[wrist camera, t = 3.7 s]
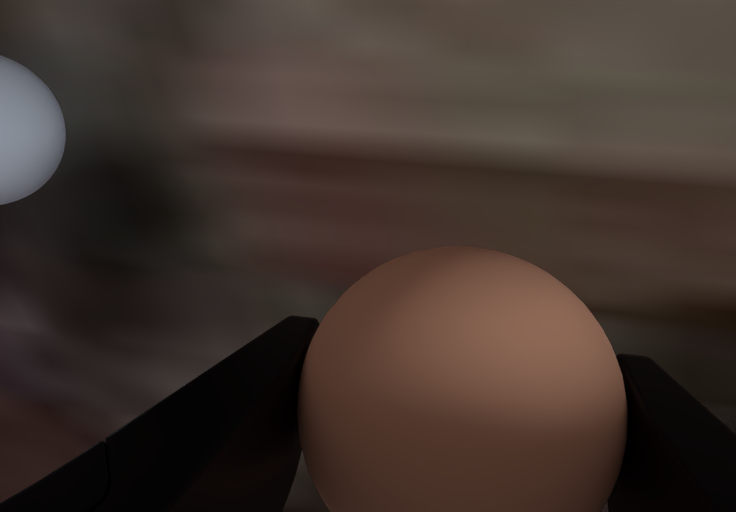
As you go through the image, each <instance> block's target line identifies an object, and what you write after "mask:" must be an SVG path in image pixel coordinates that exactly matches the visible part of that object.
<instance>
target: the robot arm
mask: <svg viewBox="0 0 736 512" xmlns="http://www.w3.org/2000/svg"><path fill="white" fill-rule="evenodd" d="M318 327H319V322H318V320H317V319H315V318H309V317H300V316H289V317H287V318H285V319H284V320H282V321H281V322H279V323H278V324H276V325H275V326H273V327H272V328H270V329H269V330H267V331H266V332H264V333H263V334H261V335H260V336H258V337H257V338H255V339H254V340H252V341H251V342H249V343H248V344H246V345H245V346H243V347H242V348H240V349H239V350H237V351H236V352H234V353H233V354H231V355H230V356H228V357H227V358H225V359H224V360H222V361H221V362H219V363H218V364H216V365H215V366H213V367H212V368H210V369H209V370H207V371H206V372H204V373H203V374H201V375H200V376H198V377H197V378H195V379H194V380H192V381H191V382H189V383H188V384H186V385H185V386H183V387H182V388H180V389H179V390H177V391H176V392H174V393H172V394H171V395H169V396H168V397H166V398H165V399H163V400H162V401H160V402H159V403H157V404H156V405H154V406H153V407H151V408H150V409H148V410H147V411H145V412H144V413H142V414H141V415H139V416H138V417H136V418H135V419H133V420H132V421H130V422H129V423H127V424H126V425H124V426H123V427H121V428H120V429H118V430H117V431H115V432H114V433H112V434H111V435H109V436H108V437H107V438H106V440H105V442H106V444H105V442H104V441H100V442H98V443H97V444H95V445H94V446H92V447H91V448H89V449H88V450H86V451H85V452H83V453H82V454H80V455H79V456H77V457H76V458H74V459H73V460H71V461H69V462H68V463H66V464H65V465H63V466H62V467H60V468H58V469H57V470H55V471H54V472H52V473H50V474H49V475H47V476H46V477H44V478H43V479H41V480H39V481H38V482H36V483H34V484H33V485H31V486H29V487H28V488H26V489H24V490H22V491H21V492H19V493H17V494H15V495H14V496H12V497H10V498H9V499H7V500H5V501H3V502H2V503H0V512H282V511H283V508H284V505H285V503H286V500H287V497H288V495H289V492H290V489H291V486H292V484H293V481H294V478H295V475H296V471H297V467H298V463H299V460H300V456H301V452H302V448H301V444H300V437H299V429H298V419H297V400H298V387H299V380H300V376H301V371H302V367H303V363H304V360H305V356H306V353H307V351H308V348H309V346H310V343H311V341H312V338H313V337H314V335H315V333H316V331H317V329H318ZM616 359H617V361H618V364H619V367H620V370H621V373H622V376H623V382H624V388H625V394H626V400H627V406H628V426H627V443H626V448H625V453H624V457H623V461H622V465H621V469H620V473H619V476H618V478H617V481H616V483H615V486H614V488H613V490H612V492H611V494H610V496H609V498H608V510H609V512H736V434H735V433H734V432H733V431H731V430H730V429H729V428H728V427H727V426H726V425H725V424H724V423H723V422H721V421H720V420H719V419H718V418H717V417H716V416H715V415H714V414H713V413H711V412H710V411H709V410H708V409H707V408H706V407H705V406H704V405H702V404H701V403H700V402H699V401H698V400H697V399H696V398H695V397H694V396H692V395H691V394H690V393H689V392H688V391H687V390H686V389H685V388H683V387H682V386H681V385H680V384H679V383H678V382H677V381H676V380H675V379H673V378H672V377H671V376H670V375H669V374H668V373H667V372H666V371H664V370H663V369H662V368H661V367H660V366H659V365H658V364H657V363H656V362H654V361H653V360H652V359H651V358H649V357H646V356H638V355H630V354H618V355H617V356H616Z"/></svg>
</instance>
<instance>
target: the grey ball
mask: <svg viewBox="0 0 736 512" xmlns="http://www.w3.org/2000/svg"><path fill="white" fill-rule="evenodd" d="M65 142H66V129H65V122H64V118H63V114H62V111H61V109H60V106H59V104H58V102H57V100H56V98H55V97H54V95H53V94H52V92H51V91H50V89H49V88H48V87H47V86H46V84H45V83H44V82H43V81H42V80H41V79H40V78H39V77H38V76H36V75H35V74H34V73H33V72H31V71H30V70H29V69H27V68H26V67H24V66H23V65H21V64H19V63H18V62H16V61H14V60H11V59H9V58H6V57H4V56H1V55H0V205H2V204H7V203H11V202H14V201H17V200H20V199H22V198H24V197H27V196H28V195H30V194H32V193H34V192H35V191H37V190H38V189H39V188H41V187H42V186H43V185H44V184H45V183H46V182H47V181H48V180H49V179H50V178H51V177H52V175H53V174H54V172H55V171H56V170H57V168H58V166H59V163H60V161H61V159H62V156H63V153H64V149H65Z"/></svg>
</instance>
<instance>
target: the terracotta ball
mask: <svg viewBox="0 0 736 512" xmlns="http://www.w3.org/2000/svg"><path fill="white" fill-rule="evenodd" d="M297 419H298V429H299V437H300V444H301V448H302V451H303V455H304V458H305V462H306V465H307V468H308V471H309V474H310V476H311V478H312V480H313V483H314V485H315V487H316V489H317V491H318V492H319V494H320V496H321V498H322V500H323V501H324V503H325V504H326V506H327V507H328V509H329V511H330V512H601V510H602V508H603V507H604V505H605V504H606V502H607V500H608V498H609V496H610V494H611V492H612V490H613V488H614V486H615V483H616V481H617V478H618V476H619V473H620V469H621V465H622V461H623V457H624V453H625V448H626V443H627V426H628V406H627V400H626V394H625V388H624V382H623V376H622V373H621V370H620V367H619V364H618V361H617V359H616V356H615V353H614V351H613V348H612V346H611V344H610V342H609V340H608V338H607V336H606V335H605V333H604V331H603V329H602V328H601V326H600V325H599V323H598V322H597V320H596V319H595V317H594V316H593V315H592V314H591V312H590V311H589V310H588V308H587V307H586V306H585V304H584V303H583V302H582V301H581V300H580V299H579V298H578V297H577V296H576V295H575V294H573V293H572V292H571V291H570V290H569V289H568V288H567V287H566V286H565V285H564V284H562V283H561V282H560V281H558V280H557V279H556V278H554V277H553V276H552V275H550V274H549V273H547V272H546V271H544V270H542V269H540V268H538V267H537V266H535V265H533V264H531V263H529V262H527V261H524V260H522V259H519V258H517V257H514V256H512V255H509V254H505V253H502V252H498V251H494V250H491V249H484V248H478V247H467V246H448V247H436V248H431V249H426V250H421V251H416V252H413V253H410V254H407V255H403V256H400V257H397V258H395V259H393V260H391V261H389V262H387V263H385V264H382V265H380V266H379V267H377V268H376V269H374V270H373V271H371V272H370V273H368V274H367V275H365V276H364V277H362V278H361V279H359V280H358V281H357V282H356V283H355V284H353V285H352V286H351V287H350V288H349V289H348V290H347V291H345V293H344V294H343V295H342V296H341V297H340V298H339V300H338V301H337V302H336V303H335V304H334V305H333V307H332V308H331V309H330V310H329V311H328V313H327V314H326V316H325V317H324V319H323V320H322V322H321V324H320V325H319V327H318V329H317V331H316V333H315V335H314V337H313V338H312V341H311V343H310V346H309V348H308V351H307V353H306V356H305V360H304V363H303V367H302V371H301V376H300V380H299V387H298V400H297Z"/></svg>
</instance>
